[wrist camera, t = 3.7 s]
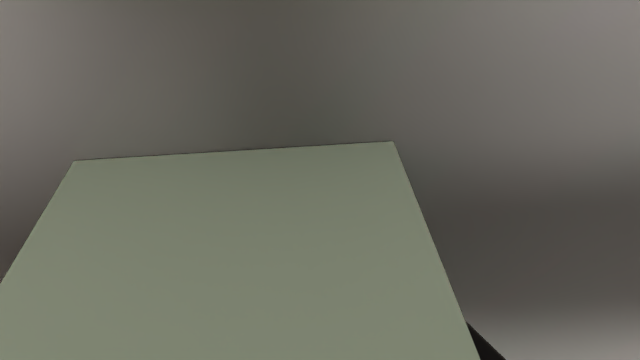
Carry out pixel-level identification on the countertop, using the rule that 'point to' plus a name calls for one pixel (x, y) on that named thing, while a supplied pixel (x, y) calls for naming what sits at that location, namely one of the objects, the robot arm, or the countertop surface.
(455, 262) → the countertop surface
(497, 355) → the robot arm
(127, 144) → the countertop surface
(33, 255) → the sage block
